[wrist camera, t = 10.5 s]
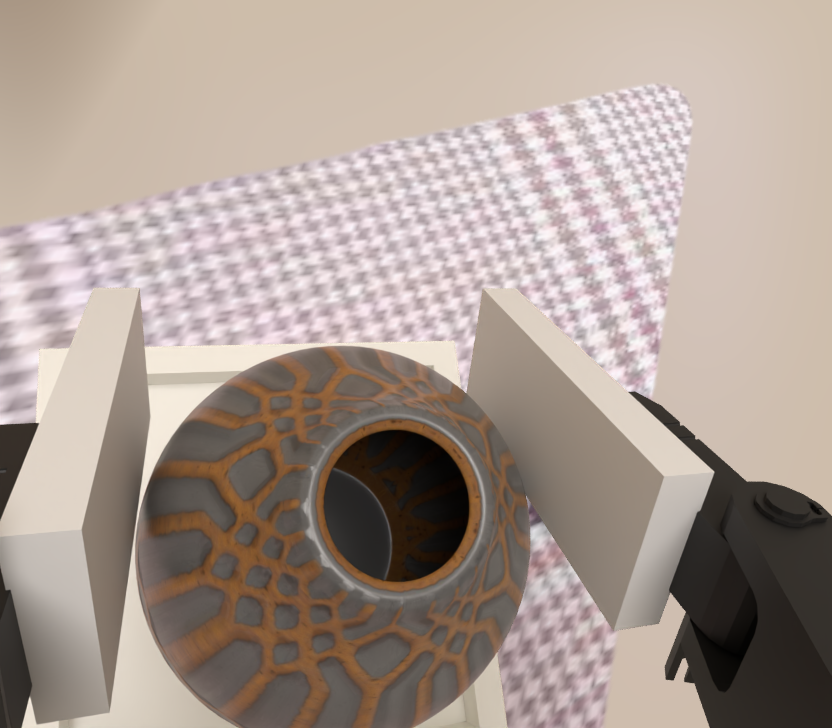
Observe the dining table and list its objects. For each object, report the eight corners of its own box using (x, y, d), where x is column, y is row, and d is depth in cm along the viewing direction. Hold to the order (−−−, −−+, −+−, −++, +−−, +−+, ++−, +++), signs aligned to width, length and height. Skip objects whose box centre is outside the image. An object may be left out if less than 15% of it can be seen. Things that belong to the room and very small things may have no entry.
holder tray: (32, 836, 20) (14, 861, 19) (52, 366, 25) (39, 348, 23) (489, 743, 25) (511, 756, 23) (439, 356, 29) (454, 340, 27)
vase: (504, 565, 17) (755, 542, 9) (283, 783, 14) (357, 1031, 6) (336, 354, 18) (429, 154, 10) (92, 524, 15) (-66, 448, 7)
